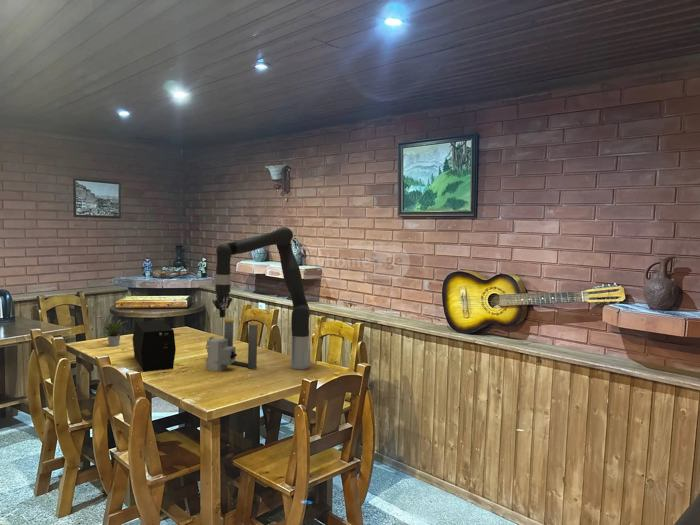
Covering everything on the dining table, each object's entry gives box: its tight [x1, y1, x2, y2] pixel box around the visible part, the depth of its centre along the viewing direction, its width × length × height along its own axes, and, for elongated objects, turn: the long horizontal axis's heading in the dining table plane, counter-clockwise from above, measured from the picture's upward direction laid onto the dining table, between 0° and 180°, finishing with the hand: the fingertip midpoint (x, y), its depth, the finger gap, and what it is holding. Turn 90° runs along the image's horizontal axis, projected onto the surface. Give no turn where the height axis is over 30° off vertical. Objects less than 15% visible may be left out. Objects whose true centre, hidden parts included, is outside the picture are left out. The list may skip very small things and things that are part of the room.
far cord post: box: [223, 317, 235, 365], centre depth 267 cm, size 5×5×24 cm
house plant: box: [103, 319, 127, 348], centre depth 299 cm, size 14×14×16 cm
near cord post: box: [247, 321, 259, 370], centre depth 259 cm, size 5×5×24 cm
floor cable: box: [231, 360, 248, 368], centre depth 264 cm, size 11×2×2 cm, turn 64°
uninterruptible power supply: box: [132, 319, 177, 373], centre depth 262 cm, size 16×34×20 cm, turn 31°
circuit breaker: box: [205, 337, 238, 372], centre depth 255 cm, size 8×14×15 cm, turn 78°
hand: (222, 317), depth 254 cm, fingers closed
